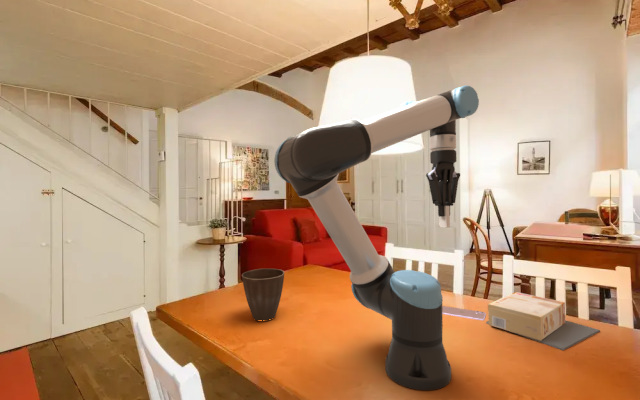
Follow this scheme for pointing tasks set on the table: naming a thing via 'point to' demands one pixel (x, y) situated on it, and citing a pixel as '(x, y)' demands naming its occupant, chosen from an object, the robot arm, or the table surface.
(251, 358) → the table surface
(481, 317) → the mobile phone
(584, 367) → the table surface
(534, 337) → the coffeecake box
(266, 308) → the plant pot
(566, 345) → the placemat
